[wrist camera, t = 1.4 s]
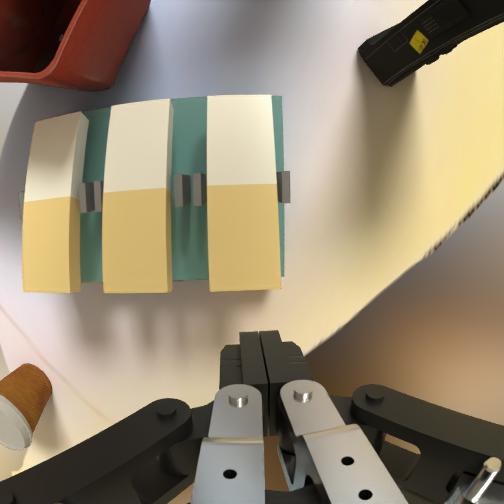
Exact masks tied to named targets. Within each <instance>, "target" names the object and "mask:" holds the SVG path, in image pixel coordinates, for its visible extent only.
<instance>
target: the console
mask: <svg viewBox="0 0 504 504" xmlns="http://www.w3.org/2000/svg"><path fill="white" fill-rule="evenodd" d="M170 100H171V103H172V106H173V108H174V117H173V137H172V167H171V252H172V281H183V280H204V279H209V257H208V219H207V97H195V98H181V99H170ZM271 100H272V114H273V129H274V145H275V161H276V179H277V198H278V219H279V241H280V267H281V277H284V203H290V171H284V158H283V118H282V96H271ZM81 113H82V114H83V115H84V116H85V117H86V118H87V119H88V120H89V124H88V132H87V139H86V147H85V156H84V166H83V178H82V183H79V200H80V276H81V282H103V266H102V214H103V189H104V172H105V160H106V149H107V139H108V130H109V122H110V114H111V107H107V108H101V109H95V110H90V111H84V112H81ZM24 195H25V191H22V192H19V206H20V218H21V219H23V209H24Z"/></svg>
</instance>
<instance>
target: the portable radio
mask: <svg viewBox="0 0 504 504" xmlns="http://www.w3.org/2000/svg"><path fill="white" fill-rule="evenodd" d="M502 22H504V0H428V1H427V2H426V3H424V4H423V5H422V6H421V7H419V8H418V9H417V10H415V11H414V12H413V13H412V14H410V15H409V16H408V17H407V18H405V19H404V20H403V21H402V22H401V23H399V24H397V25H395V26H393V27H391V28H389V29H387V30H385V31H383V32H381V33H379V34H377V35H375V36H373V37H371V38H369V39H367V40H366V41H365V42H364V43H363V44H362V45H361V46H360V47H359V48H358V49H359V52H360V54H361V56H362V58H363V59H364V61H365V62H366V63H367V65H368V66H369V67H370V69H371V70H372V71H373V72H374V74H375V75H376V76H377V78H378V79H379V80H380V82H381V83H382V84H383V85H388V86H393V85H395V84H396V83H398V82H399V81H401V80H402V79H404V78H406V77H407V76H409V75H410V74H412V73H413V72H415V71H416V70H418V69H419V68H421V67H422V66H423V65H425V64H426V65H429V64H431V63H433V62H435V61H436V60H438V59H439V56H440V55H441V54H442V55H444V54H447V53H449V52H451V51H452V49H454V48H455V47H457V45H458V44H460V43H461V42H463V41H464V40H466V39H468V38H470V37H472V36H474V35H476V34H478V33H481V32H483V31H485V30H487V29H489V28H491V27H493V26H495V25H498V24H500V23H502Z"/></svg>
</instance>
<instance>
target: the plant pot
mask: <svg viewBox="0 0 504 504" xmlns="http://www.w3.org/2000/svg"><path fill="white" fill-rule="evenodd" d="M150 2H151V0H0V82H18V83H33V84H40V85H48V86H54V87H61V88H68V89H74V90H80V91H102V90H106V89H108V88H110V87H111V86H112V85H113V83H114V81H115V79H116V76H117V74H118V71H119V69H120V67H121V64H122V62H123V60H124V57H125V55H126V53H127V51H128V48H129V46H130V44H131V42H132V40H133V37H134V35H135V33H136V31H137V29H138V27H139V25H140V23H141V21H142V19H143V17H144V15H145V13H146V11H147V9H148V8H149V5H150ZM62 33H65V35H64V37H63V39H62V41H60V42H59V41H58V37H59V35H60V34H62Z"/></svg>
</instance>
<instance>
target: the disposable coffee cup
mask: <svg viewBox="0 0 504 504" xmlns="http://www.w3.org/2000/svg"><path fill="white" fill-rule="evenodd" d="M51 393H52V386H51V383H50V381H49V379H48V377H47V376H46V375H45V374H44V372H43V371H41V370H40V369H39V368H38V367H36V366H34V365H32V364H23V365H21V366H20V367H19V368H17V369H16V370H15V371H13V372H12V373H10V374H9V375H8V376H6V377H5V378H4V379H2V380H1V381H0V444H2V445H3V446H5V447H7V448H9V449H11V450H15V451H21V450H23V449H24V448H27V447H29V446H30V445H31V443H32V434H33V432H34V430H35V427H36V425H37V423H38V421H39V418H40V416H41V414H42V412H43V410H44V407H45V405H46V403H47V401H48V399H49V397H50V395H51Z"/></svg>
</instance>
